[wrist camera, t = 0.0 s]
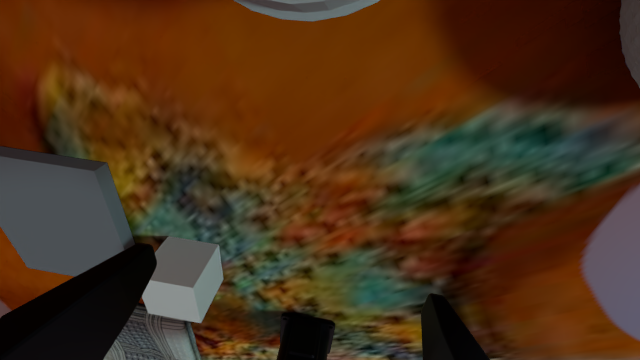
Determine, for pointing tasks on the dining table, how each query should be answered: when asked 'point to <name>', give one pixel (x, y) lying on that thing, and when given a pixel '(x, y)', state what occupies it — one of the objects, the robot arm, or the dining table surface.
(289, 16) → the disposable coffee cup
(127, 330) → the dish towel
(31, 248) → the slate board
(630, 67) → the cereal bowl
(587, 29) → the dining table surface
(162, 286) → the white cube
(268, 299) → the dining table surface
